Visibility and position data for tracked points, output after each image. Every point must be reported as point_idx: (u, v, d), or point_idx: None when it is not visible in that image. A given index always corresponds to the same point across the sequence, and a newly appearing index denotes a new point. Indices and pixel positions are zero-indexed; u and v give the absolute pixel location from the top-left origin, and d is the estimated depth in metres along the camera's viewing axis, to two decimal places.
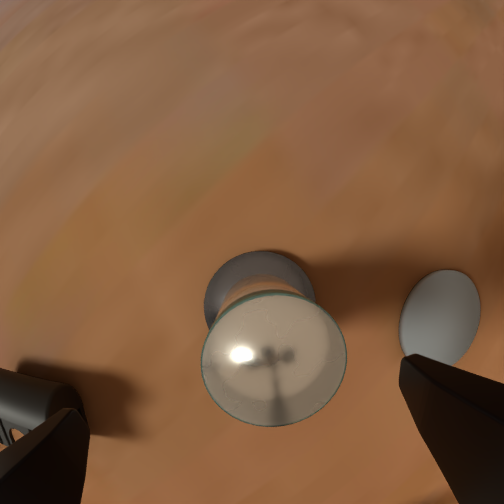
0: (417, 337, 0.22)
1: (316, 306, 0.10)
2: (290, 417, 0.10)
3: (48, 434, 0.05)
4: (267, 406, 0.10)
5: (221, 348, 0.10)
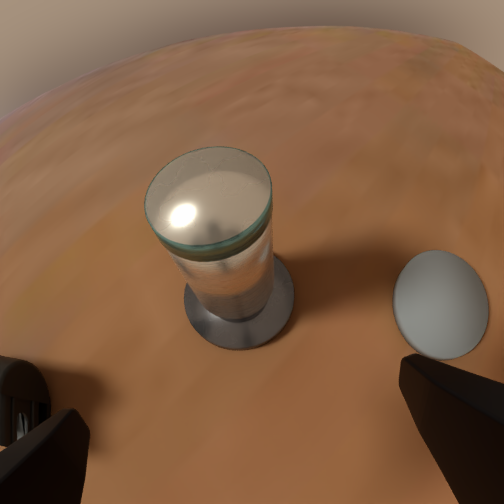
0: (417, 318, 0.19)
1: (240, 150, 0.13)
2: (218, 234, 0.11)
3: (48, 434, 0.05)
4: (196, 224, 0.11)
5: (164, 181, 0.13)
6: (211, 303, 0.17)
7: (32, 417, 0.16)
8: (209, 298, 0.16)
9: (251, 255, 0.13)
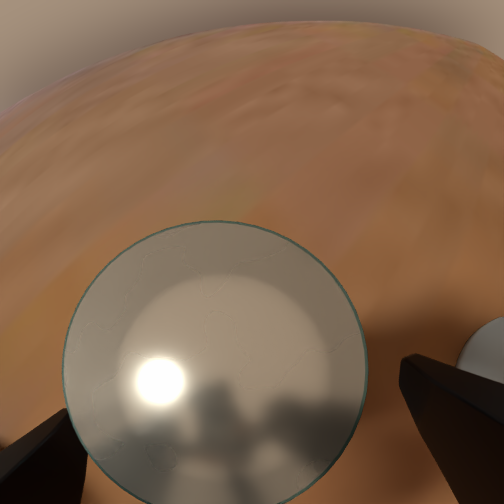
0: None
1: (279, 237, 0.05)
2: (238, 499, 0.03)
3: (48, 434, 0.05)
4: (179, 463, 0.04)
5: (98, 317, 0.05)
6: None
7: None
8: None
9: None
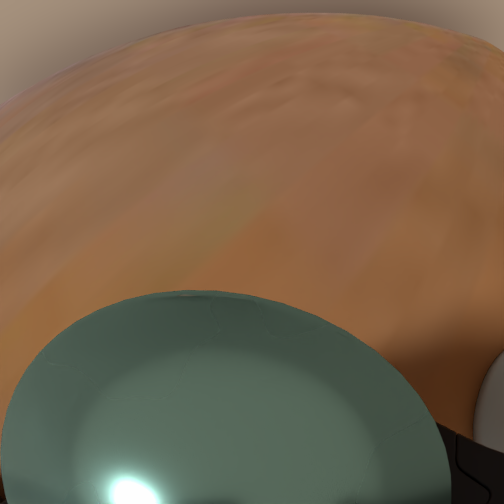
0: (502, 441, 0.09)
1: (326, 327, 0.03)
2: None
3: None
4: None
5: (34, 439, 0.02)
6: None
7: None
8: None
9: None
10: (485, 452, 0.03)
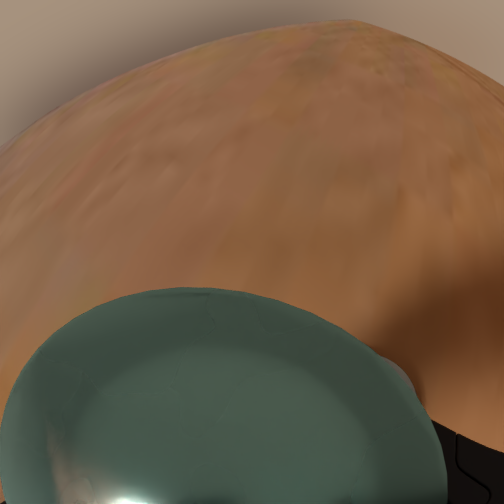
0: None
1: (321, 324, 0.03)
2: None
3: None
4: None
5: (32, 435, 0.02)
6: None
7: None
8: None
9: None
10: (485, 453, 0.03)
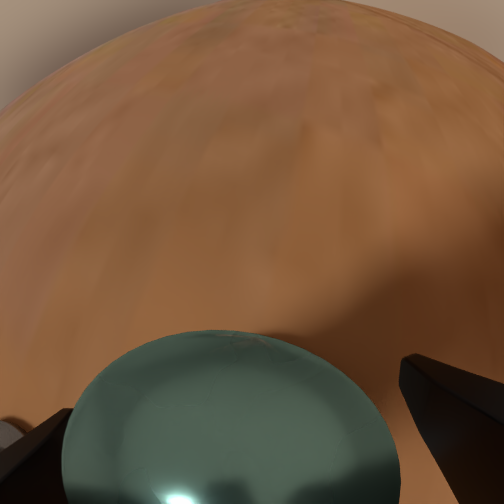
0: None
1: (309, 356, 0.04)
2: None
3: (48, 434, 0.05)
4: None
5: (95, 440, 0.04)
6: None
7: None
8: None
9: None
10: None
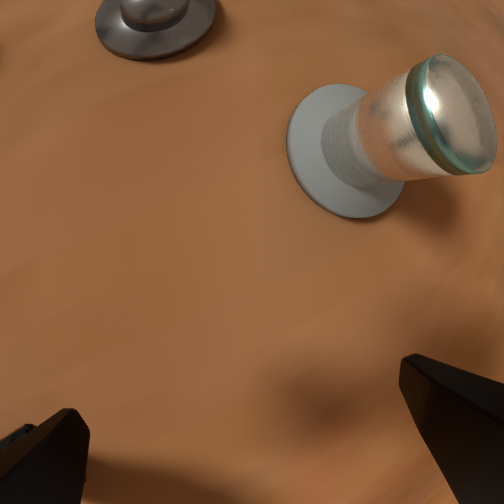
0: (313, 133, 0.17)
1: (494, 124, 0.10)
2: (452, 143, 0.09)
3: (48, 434, 0.05)
4: (448, 118, 0.09)
5: (451, 67, 0.09)
6: (343, 142, 0.15)
7: None
8: (352, 140, 0.14)
9: (429, 170, 0.11)
10: None
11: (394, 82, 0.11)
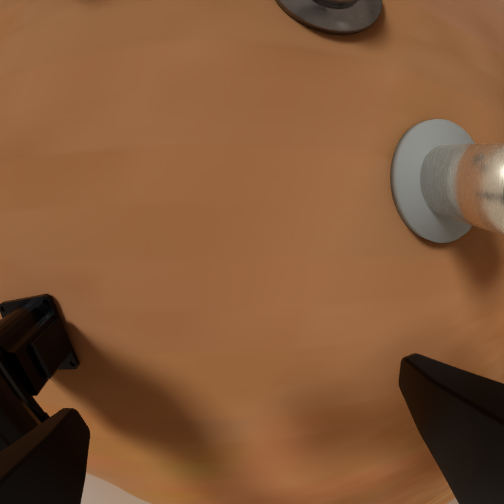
0: (419, 152, 0.17)
1: None
2: None
3: (48, 434, 0.05)
4: None
5: None
6: (442, 173, 0.15)
7: None
8: (451, 174, 0.14)
9: (499, 227, 0.12)
10: None
11: (502, 147, 0.11)
